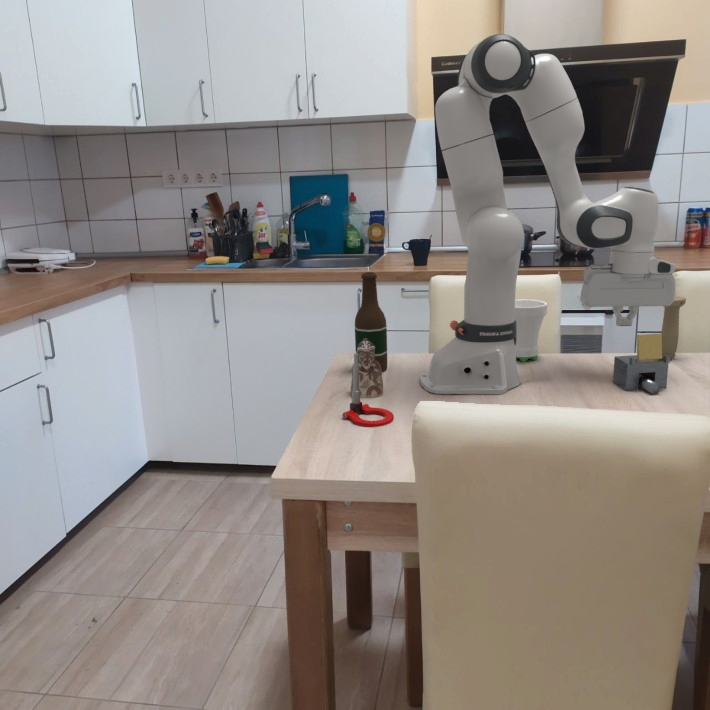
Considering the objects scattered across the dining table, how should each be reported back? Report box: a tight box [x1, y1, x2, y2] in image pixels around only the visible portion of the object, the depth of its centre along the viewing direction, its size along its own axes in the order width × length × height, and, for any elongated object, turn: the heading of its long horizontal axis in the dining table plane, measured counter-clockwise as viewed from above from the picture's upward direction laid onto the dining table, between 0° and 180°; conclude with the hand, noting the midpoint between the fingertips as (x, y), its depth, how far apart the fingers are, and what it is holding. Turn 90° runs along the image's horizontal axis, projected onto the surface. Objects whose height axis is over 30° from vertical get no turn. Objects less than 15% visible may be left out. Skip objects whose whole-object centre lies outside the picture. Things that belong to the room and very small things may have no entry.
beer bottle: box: [354, 271, 388, 373], centre depth 162 cm, size 8×8×24 cm
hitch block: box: [612, 354, 671, 392], centre depth 145 cm, size 9×7×7 cm
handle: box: [660, 295, 687, 360], centre depth 164 cm, size 5×6×15 cm
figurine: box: [350, 338, 384, 399], centre depth 146 cm, size 7×7×12 cm
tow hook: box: [342, 352, 395, 428], centre depth 131 cm, size 8×13×9 cm
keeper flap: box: [636, 333, 664, 363], centre depth 141 cm, size 6×6×1 cm
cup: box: [515, 298, 548, 362], centre depth 169 cm, size 11×11×14 cm
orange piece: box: [638, 373, 662, 395], centre depth 145 cm, size 5×12×3 cm, turn 5°
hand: (623, 325), depth 150 cm, fingers closed
